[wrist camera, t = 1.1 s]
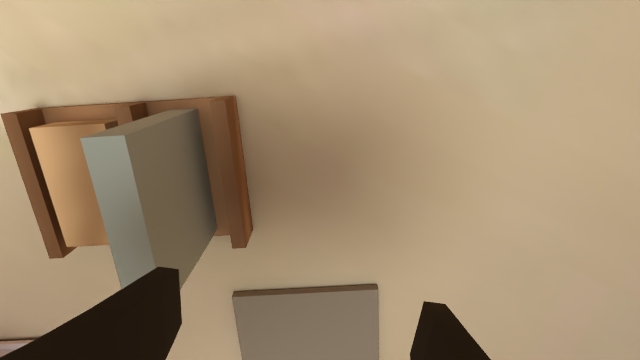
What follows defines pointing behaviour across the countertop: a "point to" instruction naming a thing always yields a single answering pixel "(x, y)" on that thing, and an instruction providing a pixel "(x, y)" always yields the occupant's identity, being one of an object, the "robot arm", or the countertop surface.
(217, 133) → the walnut rack
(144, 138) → the grey square slab
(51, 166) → the upper offcut
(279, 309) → the rubber mat
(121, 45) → the countertop surface
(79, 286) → the countertop surface
